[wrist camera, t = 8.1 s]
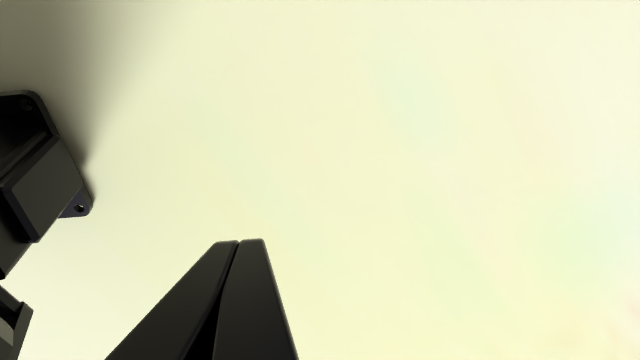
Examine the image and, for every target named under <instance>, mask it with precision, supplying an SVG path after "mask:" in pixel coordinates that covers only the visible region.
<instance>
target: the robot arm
mask: <svg viewBox="0 0 640 360" xmlns="http://www.w3.org/2000/svg"><path fill="white" fill-rule="evenodd" d="M25 100H27V101H29V102H30V103H31V104H32V106H29V105H28V104H27V103H26V102H25ZM78 204H79V205H82V206H83V207H81V206H79V205H78ZM92 208H93V203H92V201H91V199H90V197H89V195H88V192H87V190H86V188H85V186H84V184H83V181H82V178H81V176H80V174H79V172H78V170H77V168H76V166H75V164H74V162H73V160H72V158H71V156H70V154H69V152H68V150H67V148H66V146H65V144H64V142H63V140H62V138H61V137H60V135H59V133H58V131H57V129H56V127H55V125H54V123H53V121H52V119H51V117H50V115H49V113H48V111H47V109H46V107H45V105H44V103H43V101H42V99H41V98H40V96H39V95H38V94H36V93H35V92H33V91H30V90H22V91H11V92H1V93H0V280H3V279H5V278H6V276H7V275H8V274H9V272H10V271H11V270H12V269H13V267H14V266H15V265H16V264H17V262H18V261H19V260H20V258H21V257H22V256H23V255H24V253H25V252H26V251H27V250H28V248H29V247H30V246H31V244H32V243H38V242H39V241H40V240H41V239H42V238H43V236H44V235H45V234H46V232H47V231H48V230H49V228H50V227H51V226H52V225H53V223H54V222H55V221H56V219H57V218H69V217H82V216H87V215H88V214H89V213H90V211H91V210H92ZM32 314H33V309H31V308H30V307H29V306H28V305H27V304H26V303H25V302H19V301H18V300H17V299H16V298H15V297H14V296H12V295H11V294H10V293H9V292H8V291H7V290H6V289H4V288H3V287H2V286H1V285H0V360H17V359H18V356H19V353H20V350H21V347H22V344H23V341H24V338H25V335H26V332H27V329H28V326H29V323H30V320H31V317H32ZM105 360H299V358H298V354H297V351H296V348H295V344H294V341H293V337H292V334H291V331H290V327H289V324H288V320H287V317H286V314H285V310H284V307H283V303H282V300H281V297H280V293H279V290H278V286H277V283H276V280H275V276H274V273H273V269H272V266H271V263H270V259H269V256H268V252H267V249H266V246H265V242H264V240H263V239H260V238H259V239H246V240H242V241H241V242H238V241H237V240H232V241H219V242H216V243H214V244H213V245H212V246H211V247H210V248H209V249H208V250H207V252H206V253H205V254H204V255H203V256H202V257H201V258H200V259H199V260H198V261H197V262H196V263H195V264H194V265H193V266H192V267H191V268H190V270H189V271H188V272H187V273H186V274H185V275H184V276H183V277H182V278H181V279H180V280H179V281H178V282H177V283H176V284H175V285H174V286H173V288H172V289H171V290H170V291H169V292H168V293H167V294H166V295H165V296H164V297H163V298H162V299H161V300H160V301H159V302H158V303H157V304H156V306H155V307H154V308H153V309H152V310H151V311H150V312H149V313H148V314H147V315H146V316H145V317H144V318H143V319H142V320H141V321H140V323H139V324H138V325H137V326H136V327H135V328H134V329H133V330H132V331H131V332H130V333H129V334H128V335H127V336H126V337H125V338H124V339H123V341H122V342H121V343H120V344H119V345H118V346H117V347H116V348H115V349H114V350H113V351H112V352H111V353H110V354H109V355H108V356H107V357H106V359H105Z"/></svg>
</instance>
